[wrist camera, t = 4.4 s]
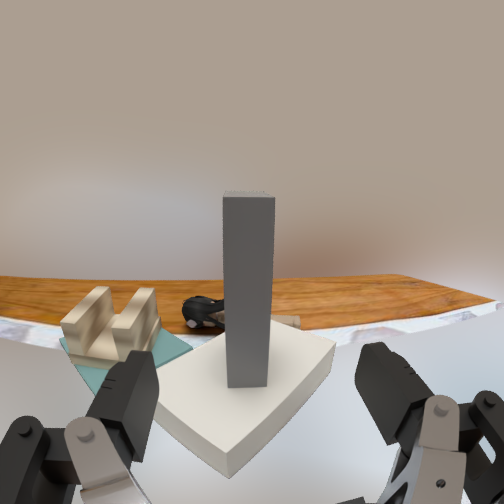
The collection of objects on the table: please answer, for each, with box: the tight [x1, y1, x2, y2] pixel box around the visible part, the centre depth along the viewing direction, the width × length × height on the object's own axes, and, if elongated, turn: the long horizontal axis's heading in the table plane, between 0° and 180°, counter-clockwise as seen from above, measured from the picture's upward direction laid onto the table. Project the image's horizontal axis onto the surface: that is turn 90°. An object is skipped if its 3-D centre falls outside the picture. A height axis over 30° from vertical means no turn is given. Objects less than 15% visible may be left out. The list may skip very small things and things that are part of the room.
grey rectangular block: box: [223, 191, 275, 388], centre depth 20 cm, size 6×3×14 cm, turn 4°
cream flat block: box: [153, 320, 336, 479], centre depth 23 cm, size 16×10×4 cm, turn 142°
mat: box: [59, 328, 193, 396], centre depth 29 cm, size 13×13×1 cm
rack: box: [60, 286, 162, 370], centre depth 29 cm, size 10×9×6 cm
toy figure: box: [182, 296, 301, 330], centre depth 35 cm, size 7×6×15 cm
